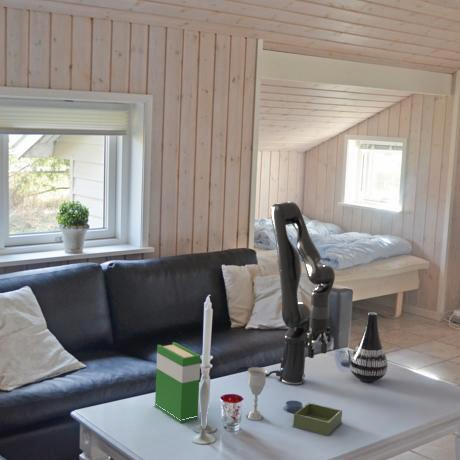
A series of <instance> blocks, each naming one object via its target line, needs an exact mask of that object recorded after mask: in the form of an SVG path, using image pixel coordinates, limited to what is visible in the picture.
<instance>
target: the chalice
mask: <svg viewBox="0 0 460 460" xmlns="http://www.w3.org/2000/svg"><path fill="white" fill-rule="evenodd" d="M247 372H248V381H247V383H248V387H249V389H250V391H251V394H252V395H254V397H253V409H252V410H251V411H250V412H249V414H248V416H247V418H248V419H249V420H253V421H259V420H262V418H263V417H262V414H261V412H260V410H258V406H259V404H258V401H259V398H258V396H259V395H261V393H262V392H263V390H264V388H265V385H266V380H267V379H266V378H267V376H266V374H268V369H266V368H264V367H259V366H258V367H257V366H255V367H253V366H252V367H250V368H249V369H247Z"/></svg>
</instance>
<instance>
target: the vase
mask: <svg viewBox="0 0 460 460" xmlns="http://www.w3.org/2000/svg"><path fill="white" fill-rule="evenodd" d="M378 316H379V315H378V313H377V312H374V311H369V312H368V313H367V318H366V322H365V326H364V329H363V333H362V335H361V338H360V340H359V341H358V344H357V346H356V347H355V349H354V350H353V353H352V354H351V357H350V359H349V369H350V372H351V374H352V375H353V376H354V377H355V378H356V379H358V380H359V381H361V383H366V384H373V383H375V382H378V381H380V380H381V379H382V378H384V377H385V376H386V374H387V371H388V368H389V367H388V363H389V362H388V359H387V355H386V353H385V350H384V348H383V345H382V341H381V338H380V332H379V321H378V319H379V318H378Z"/></svg>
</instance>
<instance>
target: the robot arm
mask: <svg viewBox="0 0 460 460" xmlns="http://www.w3.org/2000/svg"><path fill="white" fill-rule="evenodd" d="M270 219H271V225H272V228H273V234H274V239H275V246H276V252H277V264H278V273H279V281H280V293H281V318H282V321H283V323H284V325H285V326H286V327H288V329H287V331H286V332H285V334H284V336H283V351H282V352H283V353H282V358H281V359H280V368H278V369H277V370H271V371H269V373H268V372H267V373H266V377H270V376H271V375H272V374H275V376H276V377H279V381H280V382H282V383H284V384H286V385H291V386H292V385H293V386H297V385H298V386H299V385H302V384H303V383H304V382H305V378H306V373H305V369H306V368H305V366H306V351H307V350H308V351H307V357H308V358H310V359H313V358H314V357H315V347H316V346H317V345H318V343H319V342H320V343H321V344H320V353H321V354H323V355H324V354H327V349H328V345H329V343H331V341H332V328H331V327H329V325H330V323H329V322H330V295H331V293H332V289H333V287H334V283H335V280H336V279H335V278H336V273H335V270H334V268H333V267H332V266H331V265H327V264H325V265H318V264H319V263H321V260H322V255H321V253H320V251H319V250H318V248H317V247H316V245H315V243H314V241H313V240H312V237H311V235H310V233H309V230H308V227H307V225H306V222H305V219H304V216H303V213H302V211H301V209H300V207H299V205H298V204H297V203H296V202H294V201H287V202H285V201H284V202H277V203H274V204H273V205H272V206H271V209H270ZM289 225H292V226H293V228H294V229H295V231H296V247H295V246H294V244H293V243H292V241H291V240H290V238H289V236H288V232H287V226H289ZM301 261H303V263H304V266H305V270H306V274H307V278H308V280H309V282H311V284H313V285H318V287H317V288H315V289H313V290H312V292H311V301H310V308H309V306H308V305H307V304H306V303H304V302H299V299H298V290H299V285H300V282H301V277H302V263H301ZM249 368H251V367H250V366H245V365H244V366H239V367H236V368H235V372H236V371H239V370H243V369H245V370H248V369H249Z"/></svg>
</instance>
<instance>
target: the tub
mask: <svg viewBox="0 0 460 460" xmlns="http://www.w3.org/2000/svg"><path fill="white" fill-rule="evenodd" d="M342 419H343V410H342V409H338V408H333V407H329V406H325V405H320V404H317V403H312V402H307V403H306V404H305V405H303V406H302V408H301V409H300V410H299V411H297V412H296V413H293V424H292V425H293V427H294V428H297V429H301V430H305V431H309V432H313V433H317V434H320V435H324V436H329V435H330V434H331V433H332V432H334V431H335V429H336V428H337V427H339V426H340V425H341V424H342Z"/></svg>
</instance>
